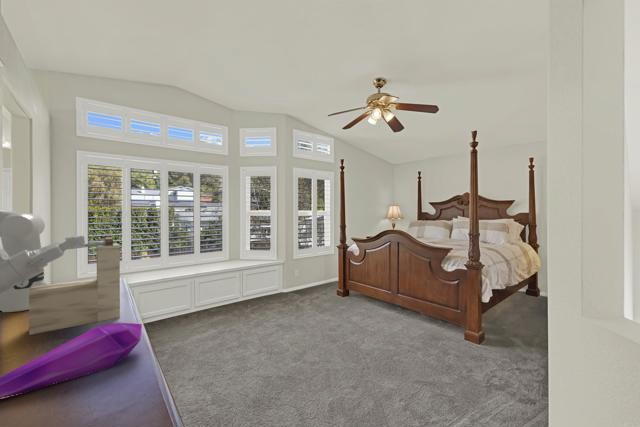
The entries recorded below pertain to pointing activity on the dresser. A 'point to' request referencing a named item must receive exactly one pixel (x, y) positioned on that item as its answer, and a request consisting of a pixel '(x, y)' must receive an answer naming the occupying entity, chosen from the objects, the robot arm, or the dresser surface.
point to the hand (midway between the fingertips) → (76, 240)
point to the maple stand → (79, 296)
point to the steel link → (82, 242)
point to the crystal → (74, 358)
